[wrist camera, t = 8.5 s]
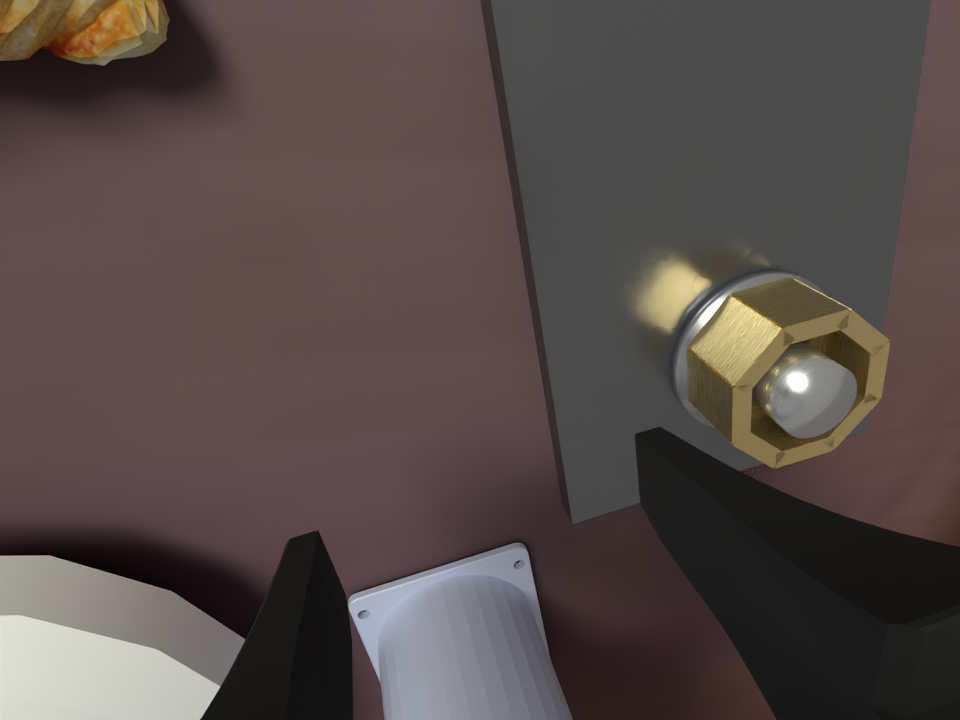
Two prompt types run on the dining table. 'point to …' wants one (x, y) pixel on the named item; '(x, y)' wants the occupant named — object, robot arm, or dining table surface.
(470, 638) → the robot arm
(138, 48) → the croissant
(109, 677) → the candle holder
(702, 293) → the block
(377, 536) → the dining table surface
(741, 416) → the ring
